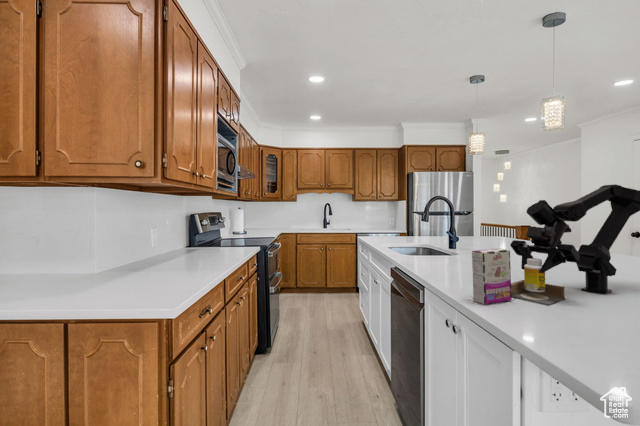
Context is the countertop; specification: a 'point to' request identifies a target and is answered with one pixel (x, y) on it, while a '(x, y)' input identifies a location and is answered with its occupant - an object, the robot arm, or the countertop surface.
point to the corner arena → (538, 293)
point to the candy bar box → (491, 276)
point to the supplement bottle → (534, 275)
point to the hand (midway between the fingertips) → (531, 270)
